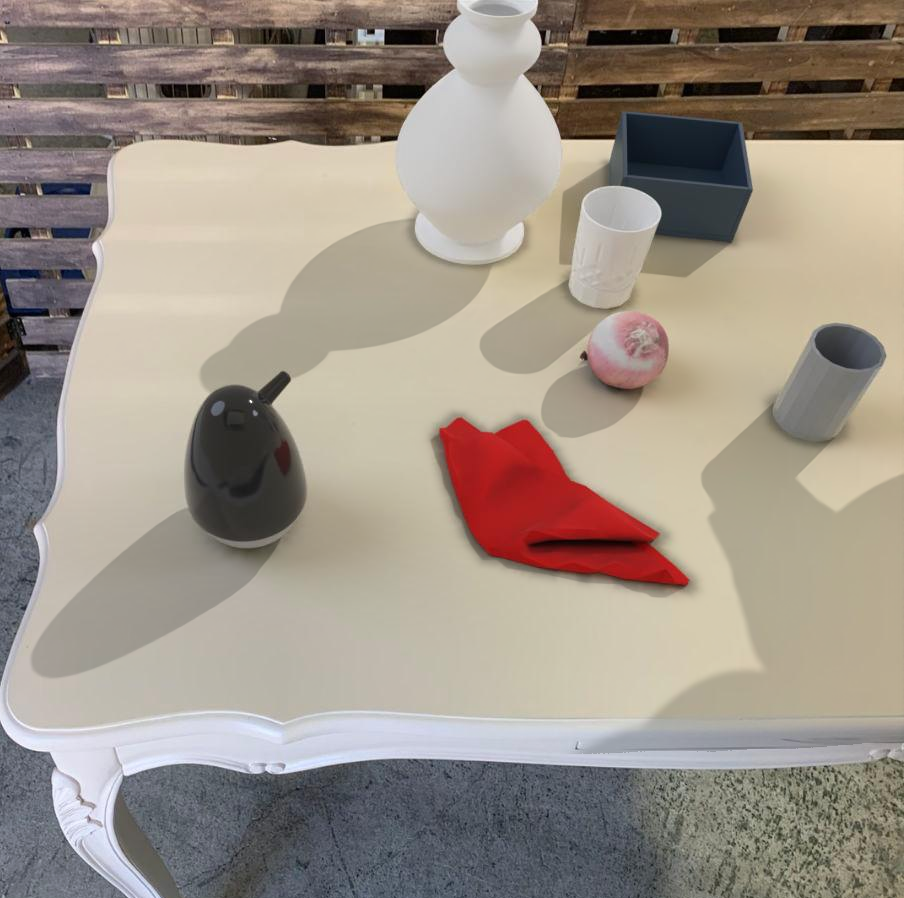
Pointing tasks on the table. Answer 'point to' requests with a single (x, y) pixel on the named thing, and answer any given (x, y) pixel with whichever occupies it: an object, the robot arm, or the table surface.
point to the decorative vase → (481, 138)
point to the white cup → (611, 244)
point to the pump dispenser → (244, 466)
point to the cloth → (544, 508)
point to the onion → (627, 350)
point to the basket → (685, 171)
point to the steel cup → (828, 381)
